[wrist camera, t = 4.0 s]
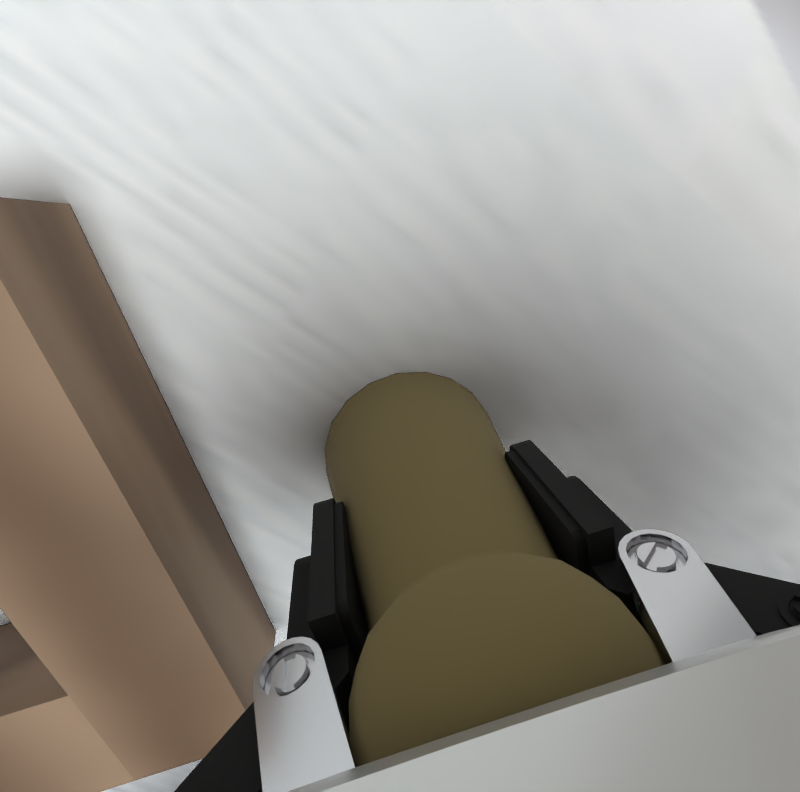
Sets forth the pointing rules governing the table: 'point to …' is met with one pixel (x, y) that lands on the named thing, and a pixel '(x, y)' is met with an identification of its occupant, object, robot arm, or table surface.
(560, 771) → the robot arm
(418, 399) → the olive-brown rounded peg
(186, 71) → the table surface
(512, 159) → the table surface
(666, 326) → the table surface
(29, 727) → the socket block
